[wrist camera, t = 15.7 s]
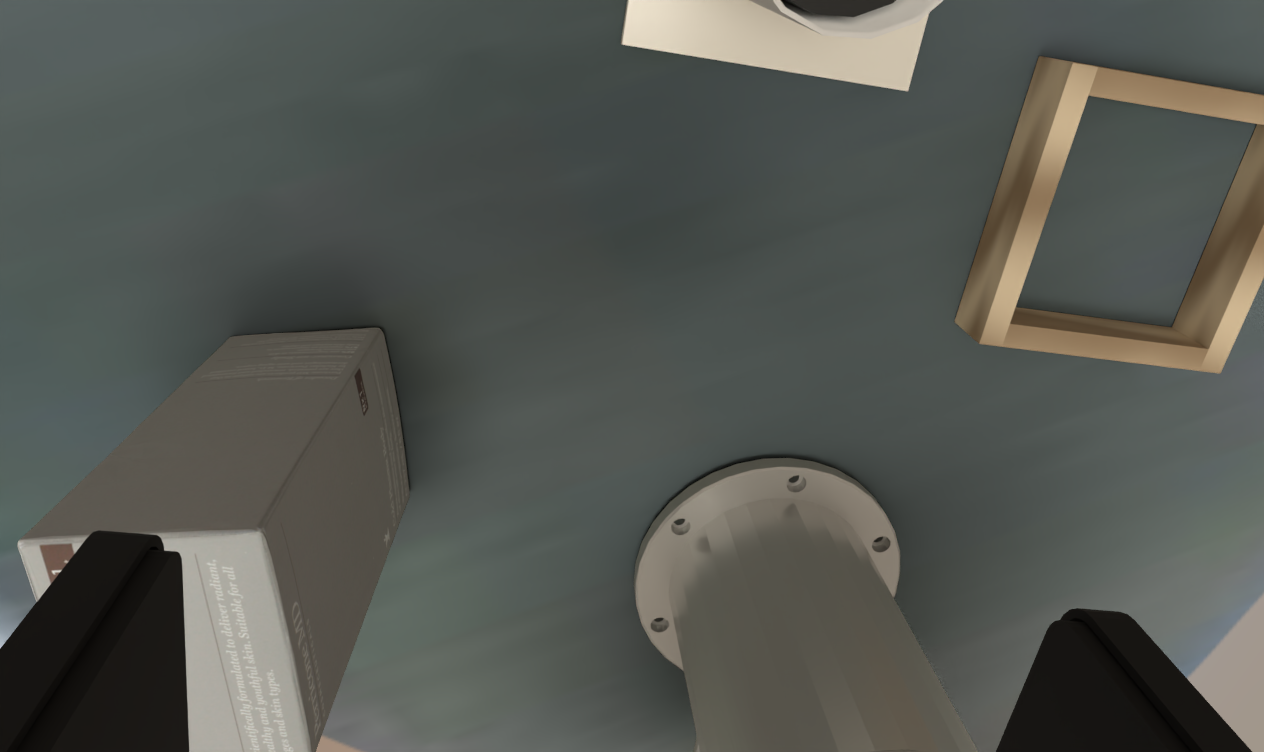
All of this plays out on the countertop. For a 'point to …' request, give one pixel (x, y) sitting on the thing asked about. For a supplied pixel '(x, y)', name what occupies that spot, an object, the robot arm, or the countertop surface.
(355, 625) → the skincare box
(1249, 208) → the wooden frame
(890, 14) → the drinking glass
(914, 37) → the coaster
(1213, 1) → the countertop surface
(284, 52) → the countertop surface
